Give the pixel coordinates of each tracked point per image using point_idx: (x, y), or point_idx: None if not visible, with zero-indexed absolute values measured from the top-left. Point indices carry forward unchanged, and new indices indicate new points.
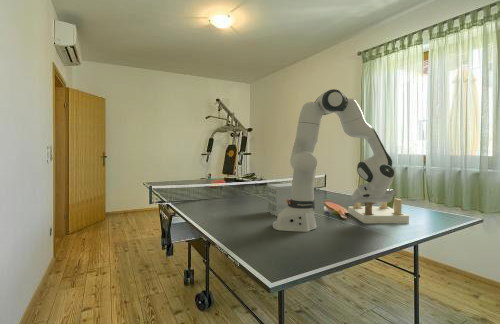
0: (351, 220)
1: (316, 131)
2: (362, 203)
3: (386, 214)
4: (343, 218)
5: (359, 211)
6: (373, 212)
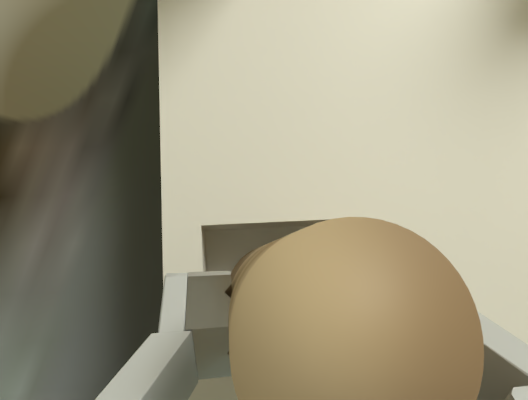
0: (73, 251)
1: None
2: (165, 298)
3: (525, 300)
4: (5, 156)
5: (203, 123)
6: (386, 182)
